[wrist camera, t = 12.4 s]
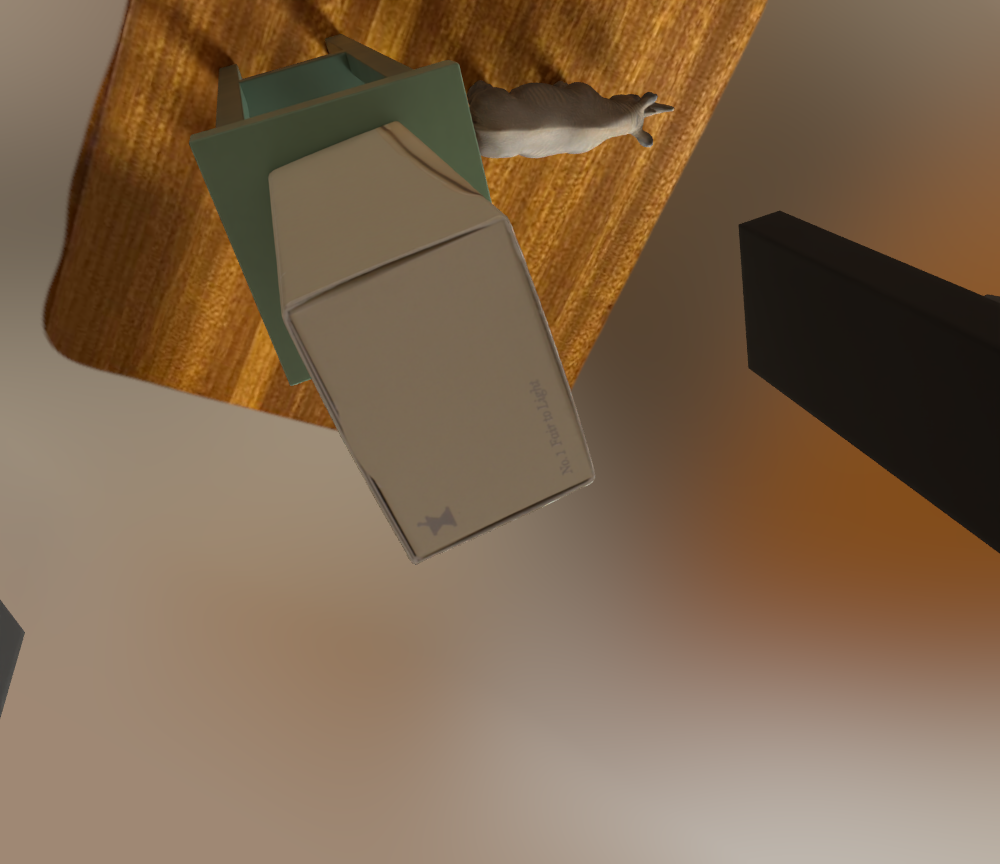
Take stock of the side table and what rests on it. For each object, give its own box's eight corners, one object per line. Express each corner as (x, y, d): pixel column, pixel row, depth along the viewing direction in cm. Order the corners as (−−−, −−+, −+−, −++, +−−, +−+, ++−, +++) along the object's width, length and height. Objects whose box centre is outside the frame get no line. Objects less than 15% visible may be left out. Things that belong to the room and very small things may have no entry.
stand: (266, 193, 49) (298, 361, 27) (218, 68, 45) (213, 151, 24) (379, 158, 50) (495, 295, 28) (341, 33, 46) (442, 83, 25)
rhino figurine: (649, 140, 54) (693, 157, 49) (443, 151, 51) (467, 171, 46) (654, 72, 52) (701, 82, 47) (440, 79, 49) (466, 90, 44)
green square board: (288, 372, 28) (290, 386, 27) (190, 135, 24) (188, 141, 23) (507, 298, 29) (517, 310, 28) (449, 58, 25) (459, 62, 24)
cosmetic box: (466, 297, 27) (610, 488, 17) (343, 351, 27) (414, 578, 17) (395, 109, 24) (520, 206, 14) (253, 168, 24) (273, 312, 14)
